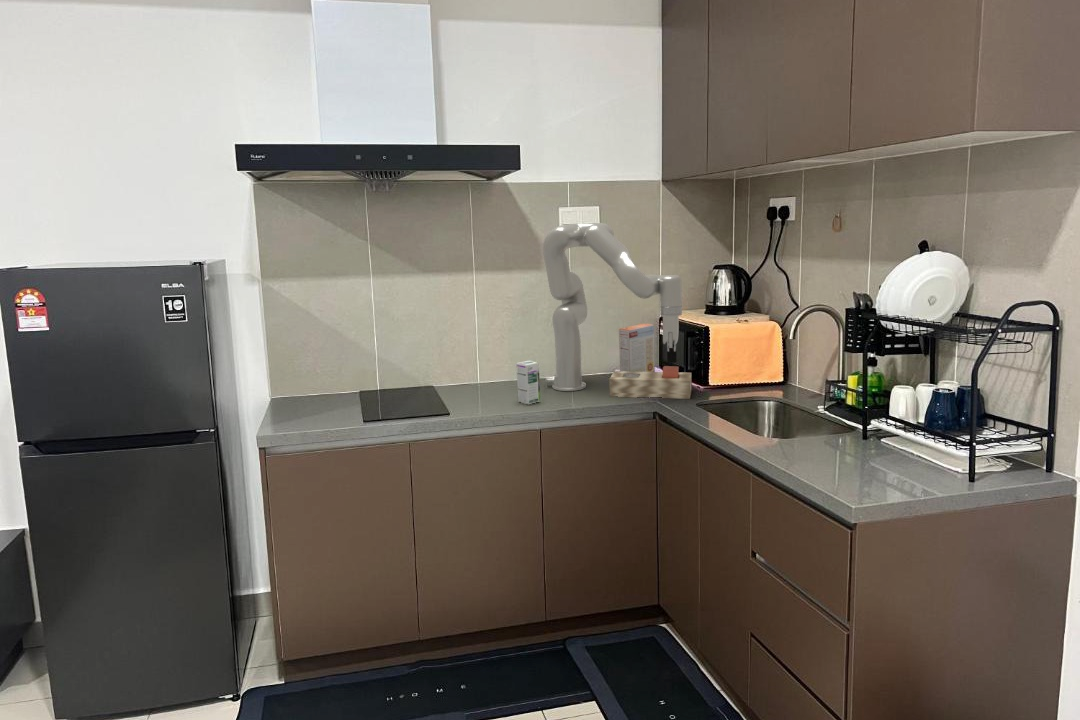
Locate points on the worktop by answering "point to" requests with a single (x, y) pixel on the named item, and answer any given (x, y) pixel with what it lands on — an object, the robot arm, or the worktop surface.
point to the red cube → (671, 372)
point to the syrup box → (528, 381)
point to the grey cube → (631, 375)
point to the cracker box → (637, 348)
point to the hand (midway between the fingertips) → (672, 362)
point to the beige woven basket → (650, 385)
